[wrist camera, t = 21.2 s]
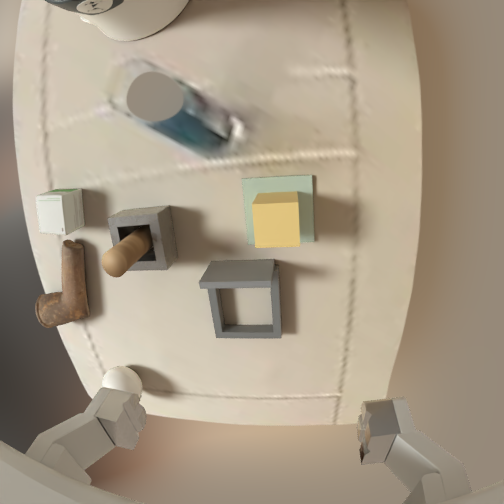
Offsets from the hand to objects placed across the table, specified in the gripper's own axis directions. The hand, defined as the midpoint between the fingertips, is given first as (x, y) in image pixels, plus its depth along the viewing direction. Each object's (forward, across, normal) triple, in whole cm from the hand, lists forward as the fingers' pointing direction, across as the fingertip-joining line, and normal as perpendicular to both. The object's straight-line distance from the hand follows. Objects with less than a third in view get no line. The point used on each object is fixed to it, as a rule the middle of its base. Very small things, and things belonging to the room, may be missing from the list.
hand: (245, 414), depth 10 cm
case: (+29, +5, +12) cm, 32 cm away
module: (+29, 0, 0) cm, 29 cm away
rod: (+29, +17, +2) cm, 34 cm away
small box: (+29, +30, -3) cm, 42 cm away
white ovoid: (+29, +28, +29) cm, 50 cm away
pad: (+29, 0, 0) cm, 29 cm away
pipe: (+30, +34, +9) cm, 46 cm away
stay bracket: (+29, +17, +2) cm, 34 cm away
